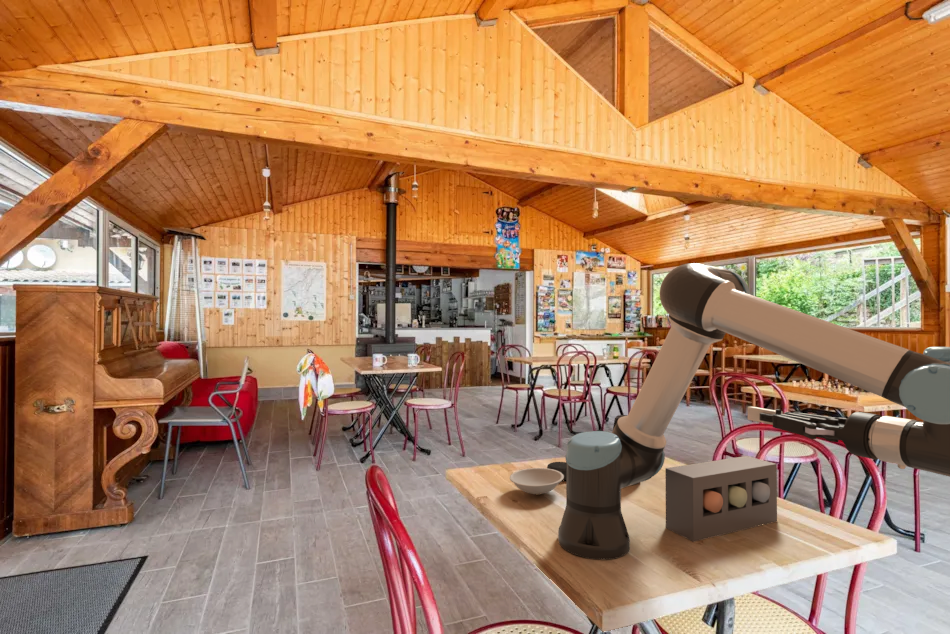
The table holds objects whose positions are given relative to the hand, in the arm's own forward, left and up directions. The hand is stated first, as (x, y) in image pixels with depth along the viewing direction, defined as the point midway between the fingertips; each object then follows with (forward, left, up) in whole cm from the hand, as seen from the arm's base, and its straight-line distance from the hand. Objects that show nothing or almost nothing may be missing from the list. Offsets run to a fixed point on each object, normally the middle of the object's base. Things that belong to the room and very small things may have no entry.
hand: (750, 412), depth 102 cm
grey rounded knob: (+15, +11, -23) cm, 30 cm away
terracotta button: (-1, +11, -23) cm, 26 cm away
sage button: (+7, +11, -24) cm, 27 cm away
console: (+7, +13, -29) cm, 33 cm away
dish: (-23, +49, -30) cm, 61 cm away
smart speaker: (-8, +59, -30) cm, 66 cm away
